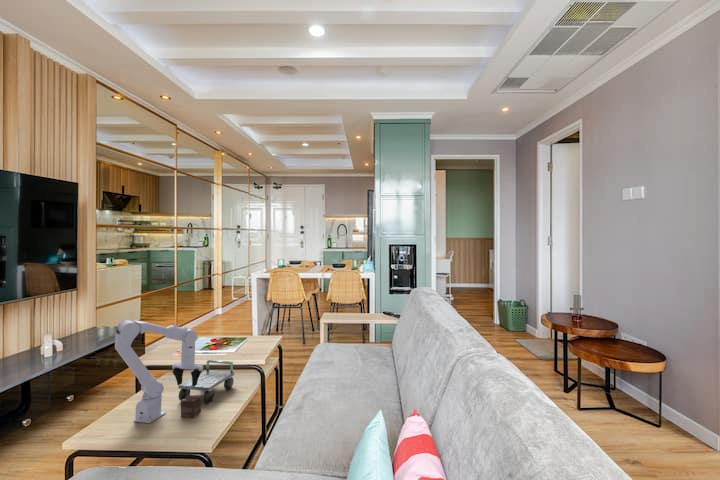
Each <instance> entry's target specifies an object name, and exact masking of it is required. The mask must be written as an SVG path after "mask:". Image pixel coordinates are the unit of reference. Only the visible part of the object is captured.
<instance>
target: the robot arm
mask: <svg viewBox="0 0 720 480" xmlns="http://www.w3.org/2000/svg"><path fill="white" fill-rule="evenodd" d="M115 328H116V329H115V330H114V334H115V340H114V349H115V351H117V354H118V355H119V356H120V357H121V358H122V359H123V362H125V364H126V365H127V366H128V368H129V369H130V371H132V373H133V374H134V376H135V377H136V379H138V382H139V383H140V386H141V390H142V392H143V394H142V397H141V399H140V401H138V402H137V403H136V405H135V415H134V416H135V417H134V418H135V419H133V422H136V423H137V422H138V423H144V424H145V423H146V424H151V423H153V422H154V421H156V420H157V419H159V418H161V417H163V416H164V415H165V414H166V413H167V411H162V399H163V397H162V396H163V395H162V394H163V392H164V389H165V388H164V385H163V383H161V382H160V381H158V379H157V378H155V377H154V376H153V375H152V373H151V372H150V371H149V369H148V368H147V367H146V366H145V364H144V363H143V361H142V360H141V358H140V357H139V356H138V355H137V353H136V351H135V350H134V349H133V347H132V346H131V345H132V343H133V341H134V340H135V339H136V337H137V336H138V335H139V334H140V335H143V334H144V333H146V332H149V333H153V334H154V333H155V334H161V335H164V337H165V338H166V339H169V340H175V341H180V342H181V349H180V350H181V351H180V352H181V353H180V363H173V364H171V365H172V368H171V369H172V374H173V375H174V377H175V381H176V383H177V384H176V385H177V386H178V385H180V384H182V383H183V376H184V371H185V370H190V371H191V370H192V371H191V372H190V375H191V378H192V386H196V385H197V381H198V378H199V376H200V374H201V373H202V372H203V370H204V365H203V364H198V363H195V362H196V358H195V356H196V341H197V340H198V338H199V336H198V334H197V331H195V330H193V329H191V328H188V327H181V326H178V325H177V324H173V325H172V324H171V325H169V326H162V325H159V324H155V323H150V322H146V321H142V320H141V321H140V320H131V319H124V320H122V321H120V322H119V323H118V324H117V327H115Z"/></svg>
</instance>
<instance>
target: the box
mask: <svg viewBox="0 0 720 480" xmlns="http://www.w3.org/2000/svg"><path fill="white" fill-rule="evenodd" d="M200 413H202V395H193V394H192V395H191V394H190V395H189V396H187V397H186V398H184V399H183V400H182V401H180V418H183V419H184V418H186V419H187V418H188V419H194V418H195V417H197V416H198V415H199V414H200Z"/></svg>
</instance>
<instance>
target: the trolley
mask: <svg viewBox="0 0 720 480" xmlns="http://www.w3.org/2000/svg"><path fill="white" fill-rule="evenodd" d="M210 363H213V364H222V365H223V364H225V365H230V368H229V369H230V370H229V371H226V370H224V371H223V370H213V369H210ZM233 376H235V371H234V362H233V361H229V360H228V361H226V360H225V361H224V360H213V359H211V360H210V359H209V360H208V359H207V360H206V370H205V371H202V372H201V374H200V376H199V378H198V381H197V385H196V386H192V377H191V378H189V379H187V380H186V381H183V382H182V384H180V385H178V384H177V386H178V388H177V389H180V390H179V393H178V400H179V401H180V402H181V401H182V400H183V399H184V398H186V397H187V396H189V395H191V390H193V391H201V392H202V391H203V392H204V393H203V397H202V401H203V404H210V403H212V402H213V400H214V398H215V391H214V388H216V387H218V386H219V385H221V384H222V383H223V388H224V389H225V390H231V389H232V388H233V385H234V377H233Z"/></svg>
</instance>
